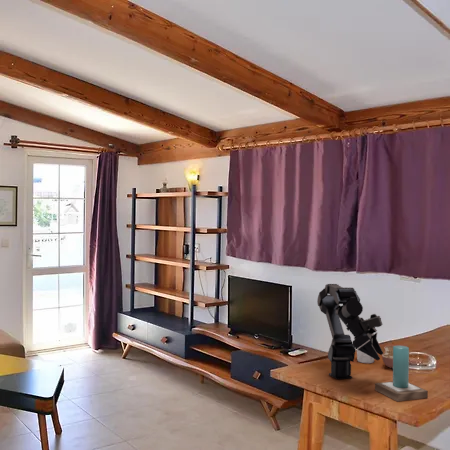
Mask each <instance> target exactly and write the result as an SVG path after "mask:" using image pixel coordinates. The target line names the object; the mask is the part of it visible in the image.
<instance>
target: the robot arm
mask: <svg viewBox="0 0 450 450" xmlns="http://www.w3.org/2000/svg"><path fill="white" fill-rule="evenodd" d="M317 306H318V307H319V310H320V312H321V313H323V314H324V315H325V316H326V320H327V323H328V326H329V331H330V334H331V338H332V339H331V344H330V347H329V349H328V352H327V358H328V360H329V361H330V364H331V365H330V368H331V369H330V373H328V375H329V376H330V377H331V378H334V379H336V380H344V379H345V380H346V379H353V376H352V363H351V362H354V361H355V356H356V355H355V354H356V352H357V348H358V350H360V351H361V352H363V353H365V354H367V355H369V356H370V357H372V358H374V360H376V361H379V360H381V357H380V356H382V355H383V354H384V350H382V347H381V346H380V343H379V341H378V332H377V331H378V330H377V329H376V328H380V327H382V326H383V322H382V318H381V316H380V315H377V314H376V313H372V314H371V315H370V318H367V319H364V318H363V317H360V315H361V314H362V313H363V310H364V307H363V304H362V303H361V297H360V296H359V295H358V293H357V291H356V290H355V287H343V286H341V285H339V284H338V283H327V284H325V287H324V288H323V289H321V291H320V292H319V293H318V296H317ZM342 323H343V324H344V325H345V327H346V330H347V331H349V333H351V335H352V336H353V339H354V340H352V337H351V335H350V334H345V332H344V328H343V324H342ZM359 347H360V348H359Z"/></svg>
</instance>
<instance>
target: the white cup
mask: <svg viewBox="0 0 450 450" xmlns="http://www.w3.org/2000/svg"><path fill="white" fill-rule="evenodd" d="M359 348H360V347H359ZM356 360H357V362H358V363H363V364H373V363H375V359H374V358H372V357H370V356H369V355H367V354H365V353H363V352H361V351H360V350H358V348H357V349H356Z"/></svg>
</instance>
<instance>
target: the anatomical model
mask: <svg viewBox="0 0 450 450" xmlns="http://www.w3.org/2000/svg"><path fill="white" fill-rule="evenodd" d="M393 346H394V345H385V346H384V348H383V349H384V351H383V354H382V355H381V358H382V362H383V364H385V366H386V367H388V368H389V369H392V370H393Z"/></svg>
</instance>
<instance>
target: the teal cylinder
mask: <svg viewBox="0 0 450 450" xmlns="http://www.w3.org/2000/svg"><path fill="white" fill-rule="evenodd" d="M392 346H393V369H392V382H393V386H394V387H397V388H408V385H409V383H410V381H409V378H410V377H409V375H410V374H409V371H410V366H409V364H410V361H409V360H410V359H409V358H410V357H409V356H410V355H409V354H410V350H409V349H410V347H409V346H406V345H392Z"/></svg>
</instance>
